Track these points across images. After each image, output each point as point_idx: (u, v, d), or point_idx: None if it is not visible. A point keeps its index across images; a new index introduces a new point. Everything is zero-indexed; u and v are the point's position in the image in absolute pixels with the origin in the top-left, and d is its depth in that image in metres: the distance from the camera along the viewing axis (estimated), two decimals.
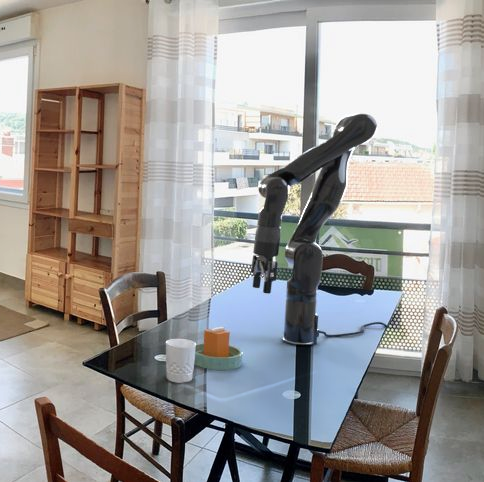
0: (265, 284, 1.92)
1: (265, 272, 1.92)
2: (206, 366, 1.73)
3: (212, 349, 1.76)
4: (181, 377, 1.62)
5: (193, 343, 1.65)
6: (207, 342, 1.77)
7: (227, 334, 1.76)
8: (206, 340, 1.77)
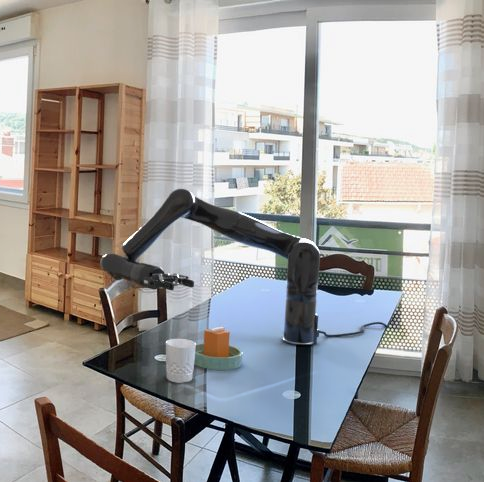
0: (165, 288, 1.87)
1: None
2: (206, 366, 1.73)
3: (212, 349, 1.76)
4: (181, 377, 1.62)
5: (193, 343, 1.65)
6: (207, 342, 1.77)
7: (227, 334, 1.76)
8: (206, 340, 1.77)
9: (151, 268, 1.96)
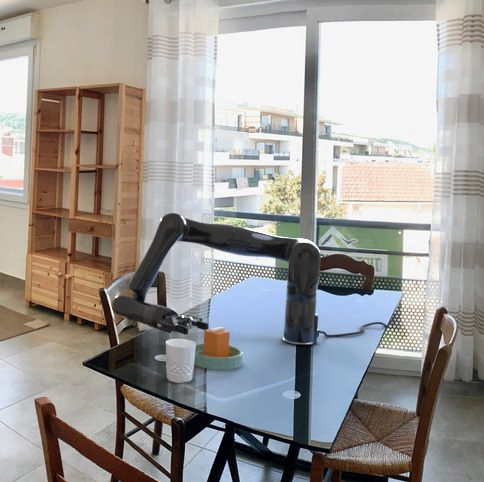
0: (179, 332, 1.83)
1: None
2: (206, 366, 1.73)
3: (212, 349, 1.76)
4: (181, 377, 1.62)
5: (193, 343, 1.65)
6: (207, 342, 1.77)
7: (227, 334, 1.76)
8: (206, 340, 1.77)
9: (164, 310, 1.92)
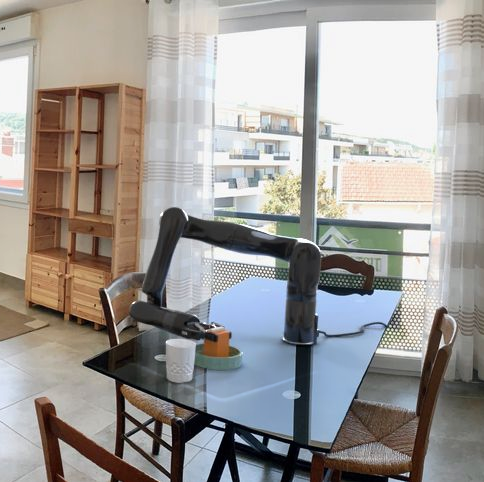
0: (208, 339, 1.76)
1: None
2: (206, 366, 1.73)
3: (212, 349, 1.76)
4: (181, 377, 1.62)
5: (193, 343, 1.65)
6: (207, 342, 1.77)
7: (227, 334, 1.76)
8: (206, 340, 1.77)
9: (186, 317, 1.85)
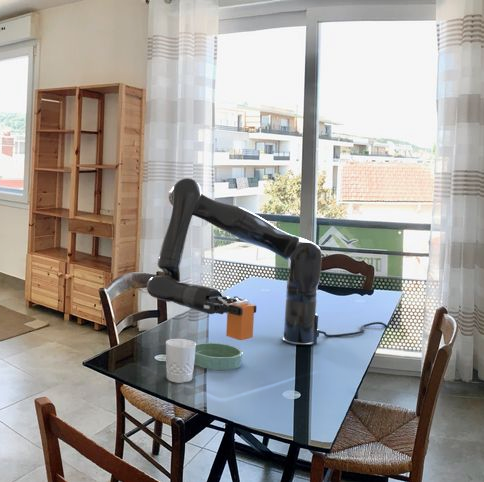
0: (232, 313, 1.68)
1: None
2: (206, 366, 1.73)
3: (236, 323, 1.68)
4: (181, 377, 1.62)
5: (193, 343, 1.65)
6: (231, 316, 1.69)
7: (252, 308, 1.68)
8: (230, 314, 1.70)
9: (208, 291, 1.77)
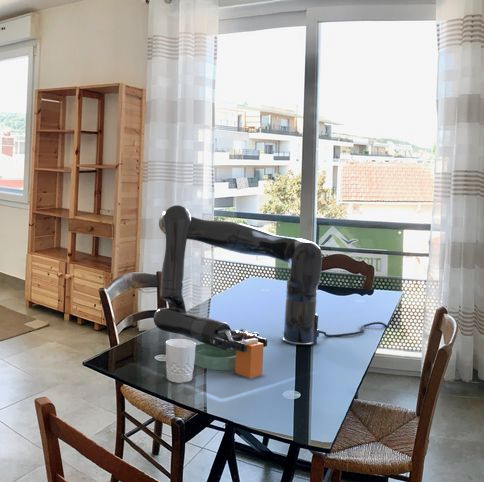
0: (235, 349, 1.66)
1: None
2: (206, 366, 1.73)
3: (245, 362, 1.66)
4: (181, 377, 1.62)
5: (193, 343, 1.65)
6: (240, 354, 1.68)
7: (261, 346, 1.67)
8: (239, 352, 1.68)
9: (216, 324, 1.75)
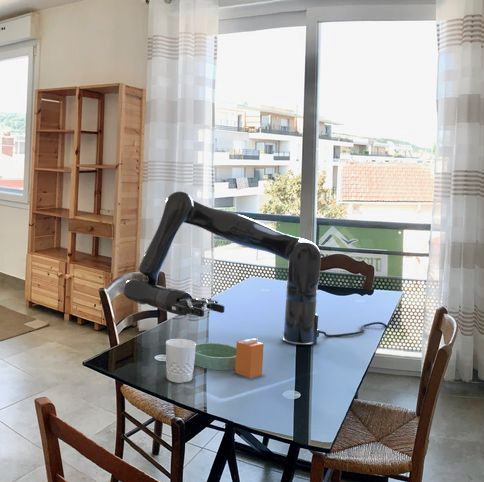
0: (194, 314, 1.79)
1: None
2: (206, 366, 1.73)
3: (245, 362, 1.66)
4: (181, 377, 1.62)
5: (193, 343, 1.65)
6: (240, 354, 1.68)
7: (261, 346, 1.67)
8: (239, 352, 1.68)
9: (178, 293, 1.87)
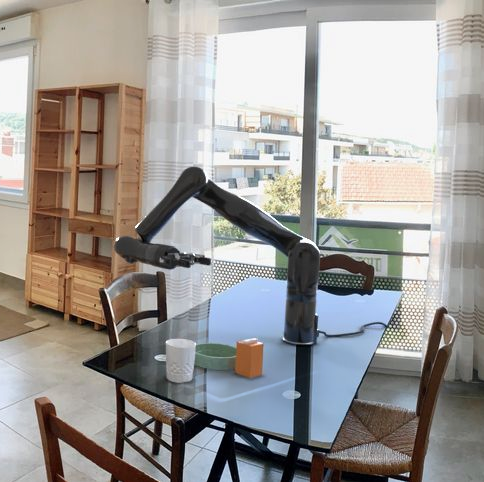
0: (181, 266, 1.83)
1: (174, 264, 1.86)
2: (206, 366, 1.73)
3: (245, 362, 1.66)
4: (181, 377, 1.62)
5: (193, 343, 1.65)
6: (240, 354, 1.68)
7: (261, 346, 1.67)
8: (239, 352, 1.68)
9: (166, 247, 1.92)
